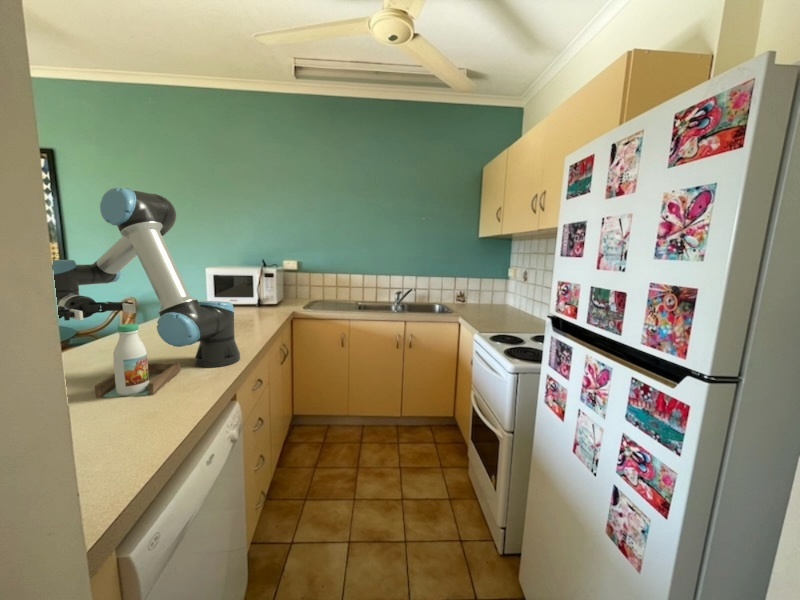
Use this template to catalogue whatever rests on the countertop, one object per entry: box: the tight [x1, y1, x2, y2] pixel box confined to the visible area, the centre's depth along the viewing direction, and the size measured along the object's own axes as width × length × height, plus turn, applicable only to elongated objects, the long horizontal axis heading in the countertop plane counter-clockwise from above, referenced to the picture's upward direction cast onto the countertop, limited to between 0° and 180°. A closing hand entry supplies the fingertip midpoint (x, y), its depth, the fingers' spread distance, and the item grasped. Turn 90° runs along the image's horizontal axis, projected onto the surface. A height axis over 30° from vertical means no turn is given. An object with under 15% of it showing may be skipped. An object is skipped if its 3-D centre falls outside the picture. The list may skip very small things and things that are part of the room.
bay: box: [94, 361, 181, 398], centre depth 105 cm, size 14×18×4 cm
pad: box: [102, 388, 149, 398], centre depth 100 cm, size 11×7×1 cm, turn 102°
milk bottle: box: [113, 323, 150, 395], centre depth 98 cm, size 8×8×20 cm
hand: (109, 312), depth 106 cm, fingers open, 13 cm apart
